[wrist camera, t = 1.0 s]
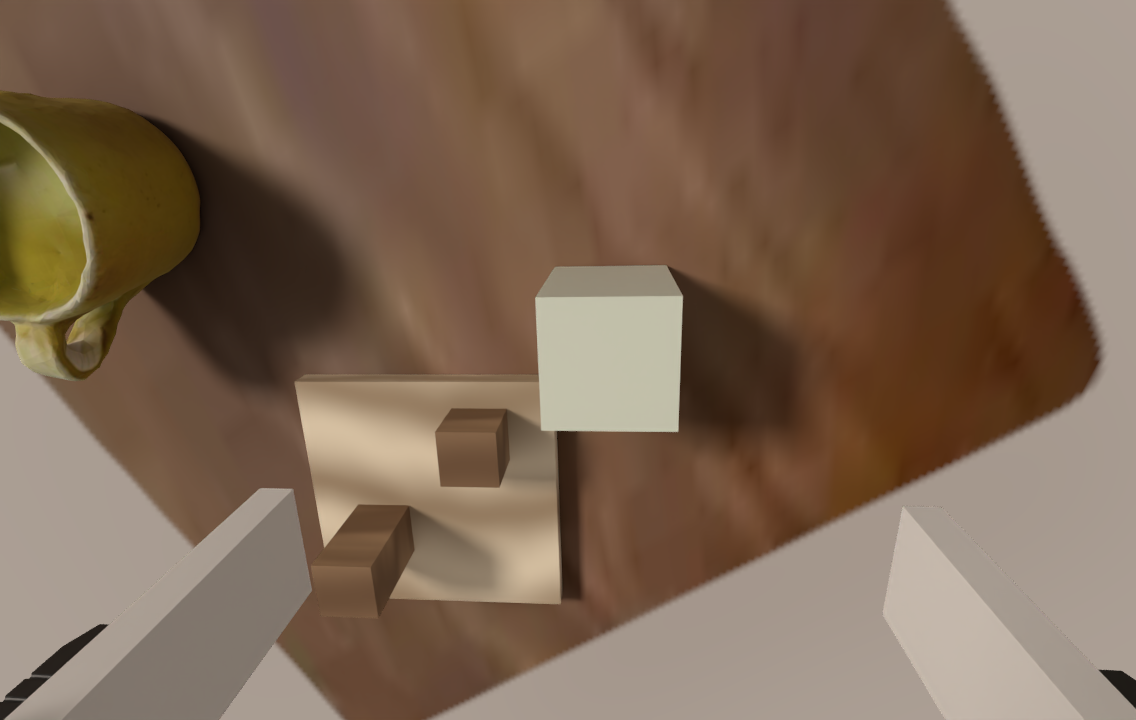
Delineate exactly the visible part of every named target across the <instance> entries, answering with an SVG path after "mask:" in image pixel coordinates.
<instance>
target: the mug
mask: <svg viewBox="0 0 1136 720" xmlns="http://www.w3.org/2000/svg"><path fill="white" fill-rule="evenodd" d="M199 214H200V196H199V191H198V187H197V184H196V181H195V179H194V176H193V174H192V171H191V169H190V167H189V165H188V163H187V161H186V160H185V158H184V156H183V155H182V154H181V152H180V151H179V149H178V148H177V147H176V146H175V145H174V143H173V142H172V141H171V140H170V139H169V138H168V137H167V136H166V135H165V134H164V133H163V132H161V131H160V130H159V129H158V128H156V127H155V126H154V125H152V124H151V123H150V122H148V121H147V120H146V119H144V118H143V117H141V116H139V115H138V114H136V113H134V112H133V111H131V110H129V109H126V108H123V107H120V106H117V105H114V104H111V103H107V102H102V101H97V100H91V99H75V98H47V97H40V96H37V95H33V94H29V93H15V92H9V91H0V320H4V321H11V322H12V323H13V324H14V325H15V328H16V343H15V346H16V349H17V352H18V355H19V358H20V360H21V362H22V364H23V365H25V366H26V367H28V368H29V369H30V370H32V371H33V372H36V373H39V374H43V375H46V376H51V377H55V378H61V379H66V380H71V381H80V380H85V379H86V378H87V377H88V376H90V375H91V374H92V373H93V372H94V371H95V370H96V369H98V368H99V367H100V365H101V363H102V361H103V359H104V358H105V356H106V355H107V354H108V352H109V349H110V346H111V344H112V341H113V339H114V337H115V335H116V330H117V324H118V322H119V320H120V317H121V314H122V310H123V309H124V307H125V306H126V304H127V303H128V301H129V300H130V299H132V298H133V297H134V296H136V295H137V294H138V293H139V292H140V291H141V290H142V289H144V288H145V287H146V286H147V285H148V284H149V283H150V282H151V281H153V280H154V279H156V278H157V277H159V276H161V275H163V274H165V273H167V272H169V271H170V270H171V269H173V268H174V267H175V266H176V265H178V264H179V263H180V262H181V261H182V260H184V259H185V257H186V256H187V255H188V254H189V253H190V252H191V251H192V249H193V247H194V245H195V243H196V241H197V238H198V235H199V232H200V215H199ZM74 322H75V324H74V327H73V329H72V331H71V333H70V335H69V338H68V340H67V341H66V339H65V334H66V332H67V330H68V328H69V327H70V326H71V325H72V324H73V323H74Z"/></svg>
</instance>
